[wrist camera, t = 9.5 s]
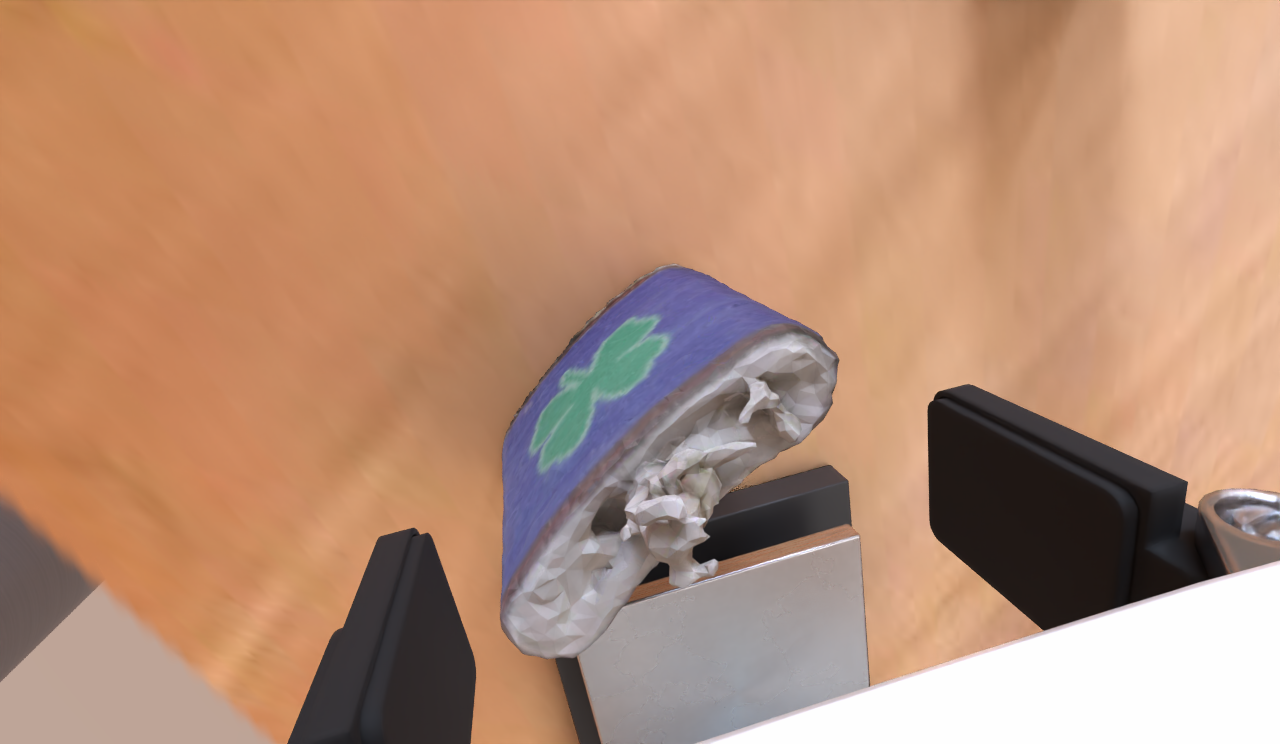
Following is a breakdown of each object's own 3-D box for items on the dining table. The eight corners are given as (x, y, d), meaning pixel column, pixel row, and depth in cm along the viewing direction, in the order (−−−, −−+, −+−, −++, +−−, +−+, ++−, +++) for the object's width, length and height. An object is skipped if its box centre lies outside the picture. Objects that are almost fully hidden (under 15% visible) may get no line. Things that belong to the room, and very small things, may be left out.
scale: (614, 847, 27) (626, 923, 24) (527, 547, 22) (530, 601, 19) (854, 761, 29) (892, 823, 26) (830, 463, 23) (873, 502, 21)
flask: (540, 489, 21) (568, 762, 11) (475, 440, 20) (440, 692, 10) (723, 298, 20) (928, 405, 10) (665, 237, 19) (830, 292, 9)
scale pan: (623, 816, 23) (626, 837, 22) (564, 605, 19) (567, 622, 18) (863, 732, 24) (875, 749, 23) (848, 521, 21) (861, 534, 20)
